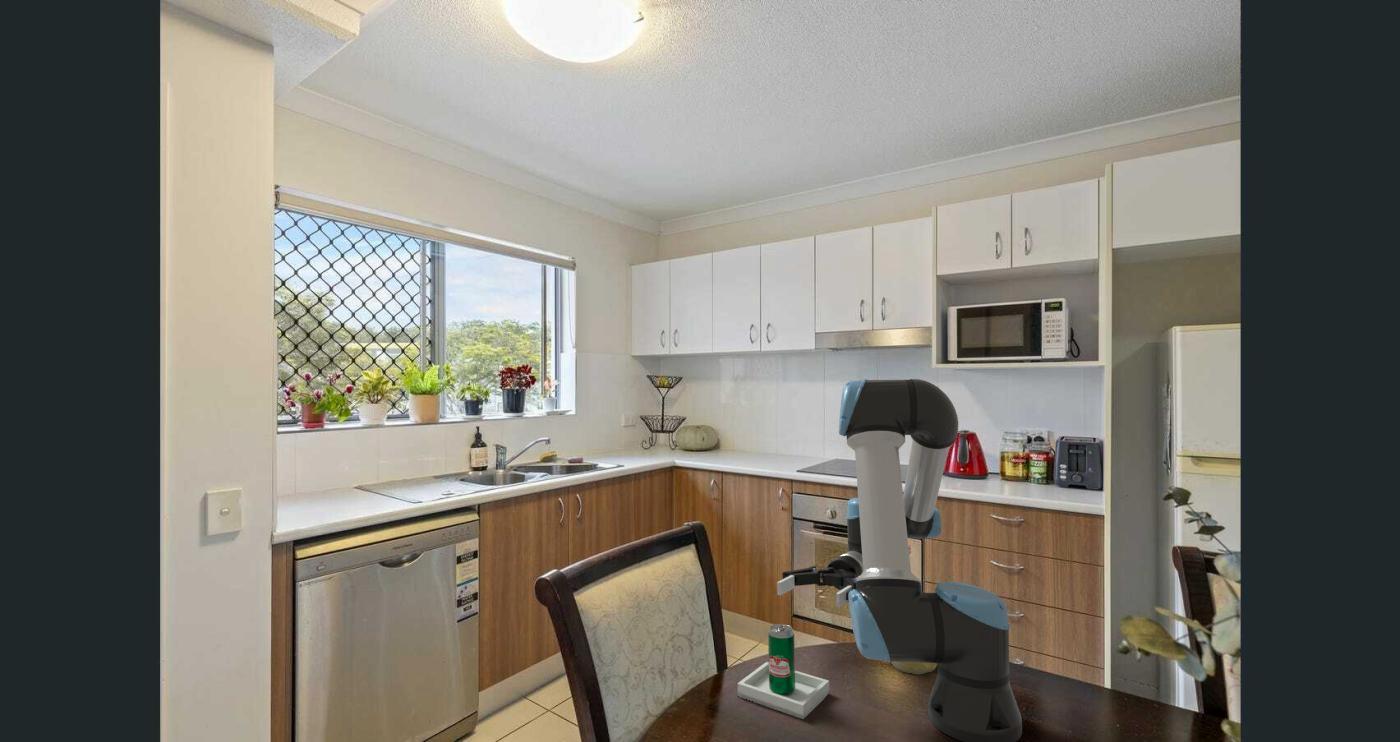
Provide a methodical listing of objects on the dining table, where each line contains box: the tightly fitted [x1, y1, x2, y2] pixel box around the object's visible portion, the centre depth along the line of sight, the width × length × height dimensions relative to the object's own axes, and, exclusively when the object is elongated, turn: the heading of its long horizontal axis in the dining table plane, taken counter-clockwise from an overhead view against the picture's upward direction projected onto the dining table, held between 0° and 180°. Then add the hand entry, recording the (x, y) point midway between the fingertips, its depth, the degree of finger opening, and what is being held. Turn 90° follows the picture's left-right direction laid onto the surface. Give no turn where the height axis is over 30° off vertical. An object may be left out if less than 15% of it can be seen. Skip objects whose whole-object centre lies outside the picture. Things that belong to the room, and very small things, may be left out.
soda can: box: [767, 623, 796, 696], centre depth 119 cm, size 5×5×12 cm
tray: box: [737, 661, 830, 720], centre depth 119 cm, size 14×11×2 cm
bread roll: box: [890, 661, 938, 675], centre depth 130 cm, size 8×9×4 cm
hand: (807, 594), depth 129 cm, fingers open, 13 cm apart
